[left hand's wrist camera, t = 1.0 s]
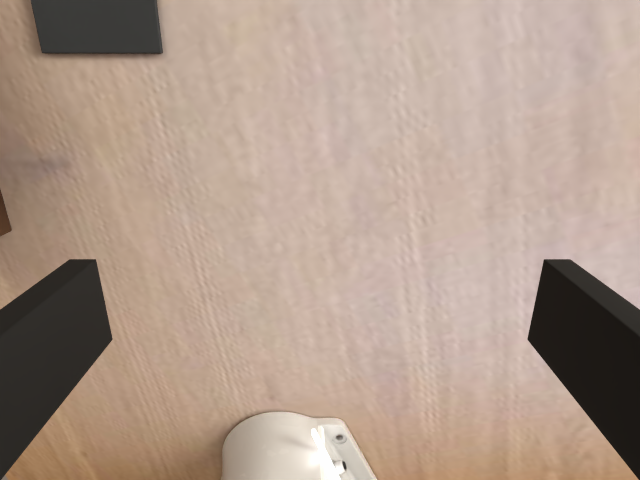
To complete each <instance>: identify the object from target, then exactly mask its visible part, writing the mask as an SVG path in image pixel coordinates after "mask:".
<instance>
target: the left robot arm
mask: <svg viewBox="0 0 640 480" xmlns="http://www.w3.org/2000/svg"><path fill="white" fill-rule="evenodd" d="M111 341H112V335H111V330H110V325H109V320H108V315H107V311H106V306H105V301H104V296H103V291H102V286H101V282H100V277H99V272H98V267H97V262H96V259H70V260H68V261H67V262H66V263H64V264H63V265H61V266H60V267H59V268H57V269H56V270H55V271H53V272H52V273H50V274H49V275H48V276H46V277H45V278H43V279H42V280H41V281H39V282H38V283H37V284H35V285H34V286H32V287H31V288H30V289H28V290H27V291H25V292H24V293H23V294H21V295H20V296H19V297H17V298H16V299H14V300H13V301H12V302H10V303H9V304H8V305H6V306H5V307H3V308H2V309H1V310H0V480H1V479H2V478H3V477H4V475H5V474H6V473H7V472H8V470H9V469H10V468H11V466H12V465H13V464H14V463H15V461H16V460H17V459H18V458H19V456H20V455H21V454H22V453H23V451H24V450H25V449H26V448H27V446H28V445H29V444H30V443H31V441H32V440H33V439H34V438H35V436H36V435H37V434H38V433H39V431H40V430H41V429H42V427H43V426H44V425H45V424H46V422H47V421H48V420H49V419H50V417H51V416H52V415H53V414H54V412H55V411H56V410H57V409H58V407H59V406H60V405H61V404H62V402H63V401H64V400H65V399H66V397H67V396H68V395H69V394H70V392H71V391H72V390H73V388H74V387H75V386H76V385H77V383H78V382H79V381H80V380H81V378H82V377H83V376H84V375H85V373H86V372H87V371H88V370H89V368H90V367H91V366H92V365H93V363H94V362H95V361H96V360H97V358H98V357H99V356H100V355H101V353H102V352H103V351H104V349H105V348H106V347H107V346H108V344H109V343H110V342H111ZM528 341H529V342H530V343H531V344H532V346H533V347H534V348H535V349H536V351H537V352H538V353H539V355H540V356H541V357H542V358H543V360H544V361H545V362H546V363H547V365H548V366H549V367H550V368H551V370H552V371H553V372H554V373H555V375H556V376H557V377H558V378H559V380H560V381H561V382H562V383H563V385H564V386H565V387H566V388H567V390H568V391H569V392H570V394H571V395H572V396H573V397H574V399H575V400H576V401H577V402H578V404H579V405H580V406H581V407H582V409H583V410H584V411H585V412H586V414H587V415H588V416H589V417H590V419H591V420H592V421H593V422H594V424H595V425H596V426H597V427H598V429H599V430H600V431H601V433H602V434H603V435H604V436H605V438H606V439H607V440H608V441H609V443H610V444H611V445H612V446H613V448H614V449H615V450H616V451H617V453H618V454H619V455H620V456H621V458H622V459H623V460H624V461H625V463H626V464H627V465H628V466H629V468H630V469H631V470H632V472H633V473H634V474H635V475H636V477H637V478H638V479H639V480H640V310H639V309H638V308H637V307H635V306H634V305H632V304H631V303H630V302H628V301H627V300H626V299H624V298H623V297H621V296H620V295H619V294H617V293H616V292H615V291H613V290H612V289H610V288H609V287H608V286H606V285H605V284H603V283H602V282H601V281H599V280H598V279H597V278H595V277H594V276H592V275H591V274H590V273H588V272H587V271H585V270H584V269H583V268H581V267H580V266H579V265H577V264H576V263H574V262H573V261H572V260H570V259H544V262H543V267H542V272H541V277H540V282H539V286H538V291H537V296H536V301H535V306H534V311H533V315H532V320H531V325H530V330H529V335H528Z"/></svg>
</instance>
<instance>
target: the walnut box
mask: <svg viewBox="0 0 640 480" xmlns="http://www.w3.org/2000/svg"><path fill="white" fill-rule="evenodd" d="M10 231H11V227H10V223H9V219H8V216H7V212H6V208H5V205H4V201H3V198H2V194H1V190H0V236H2V235H4V234H6V233H8V232H10Z"/></svg>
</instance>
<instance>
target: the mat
mask: <svg viewBox="0 0 640 480" xmlns="http://www.w3.org/2000/svg"><path fill="white" fill-rule="evenodd" d="M31 4H32V9H33V13H34V18H35V22H36V27H37V32H38V36H39V41H40V46H41V50H42V53H163V50H162V42H161V34H160V26H159V17H158V9H157V1H156V0H31Z"/></svg>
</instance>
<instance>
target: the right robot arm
mask: <svg viewBox="0 0 640 480" xmlns="http://www.w3.org/2000/svg"><path fill="white" fill-rule="evenodd" d="M338 435H341V436H338ZM222 463H223V467H222V477H221V480H377V478H376V477H375V475H374V473H373V471H372V470H371V468H370V466H369V464H368V463H367V461H366V459H365V457H364V456H363V454H362V452H361V450H360V449H359V447H358V445H357V443H356V442H355V440H354V438H353V436H352V435H351V433H350V431H349V429H348V427H347V426H346V424H345V422H344V421H343V420H341V419H338V418H312V417H308V416H304V415H301V414H297V413H292V412H267V413H262V414H258V415H255V416H253V417H250V418H248V419H246V420H244V421H242V422H241V423H239V424H238V425H237V426H236V427H235V428H234V429H233V430H232V431H231V432H230V433H229V434H228V436H227V438H226V440H225V442H224V445H223V449H222Z"/></svg>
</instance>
